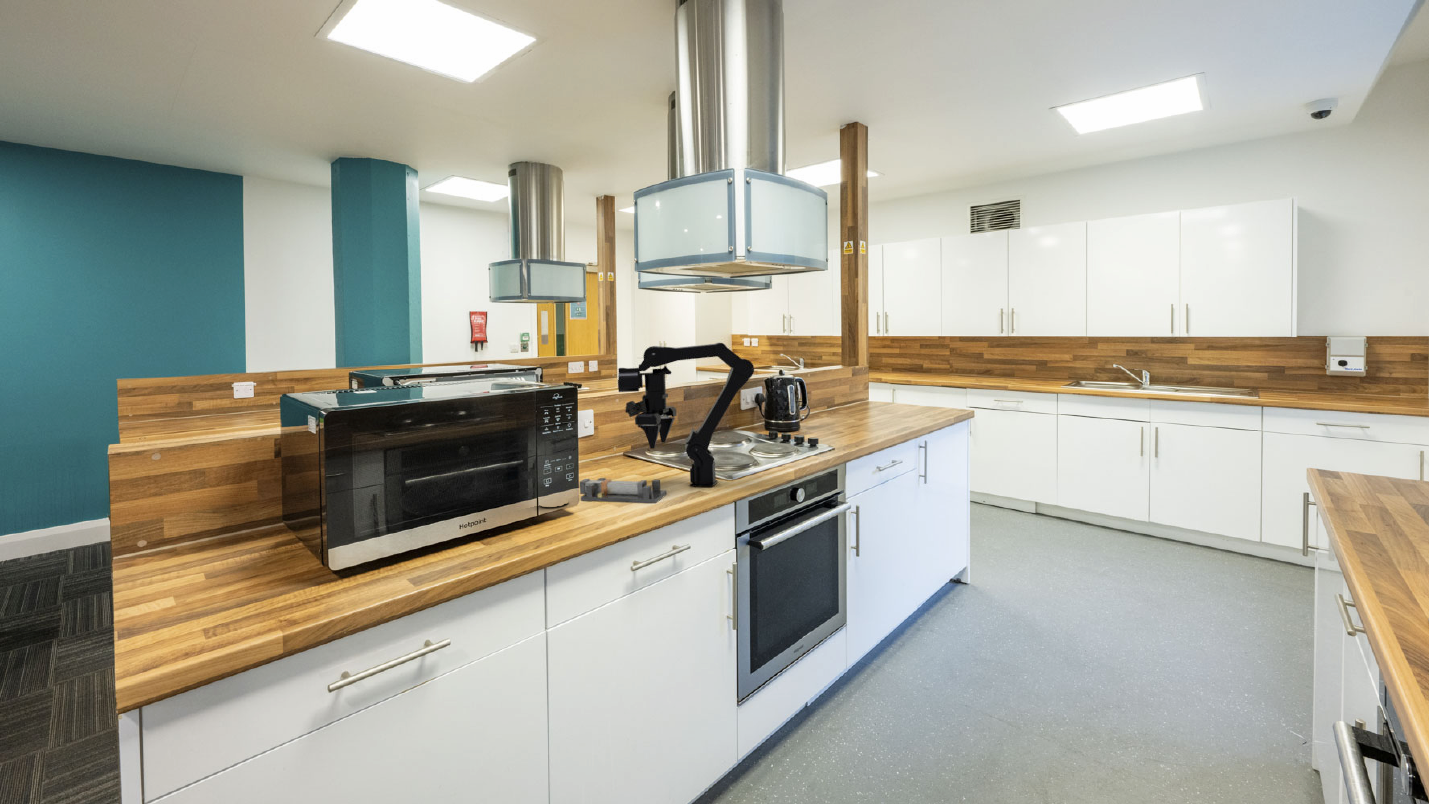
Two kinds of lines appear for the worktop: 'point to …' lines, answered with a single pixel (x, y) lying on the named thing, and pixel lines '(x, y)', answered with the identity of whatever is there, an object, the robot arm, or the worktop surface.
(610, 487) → the tube
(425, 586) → the worktop surface
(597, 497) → the cradle
